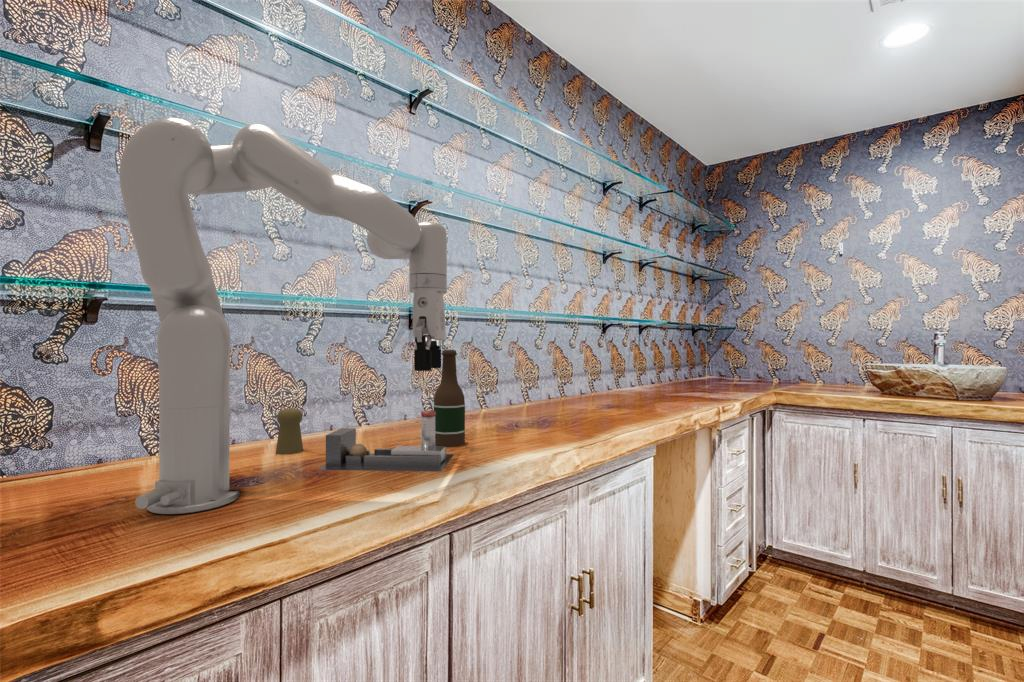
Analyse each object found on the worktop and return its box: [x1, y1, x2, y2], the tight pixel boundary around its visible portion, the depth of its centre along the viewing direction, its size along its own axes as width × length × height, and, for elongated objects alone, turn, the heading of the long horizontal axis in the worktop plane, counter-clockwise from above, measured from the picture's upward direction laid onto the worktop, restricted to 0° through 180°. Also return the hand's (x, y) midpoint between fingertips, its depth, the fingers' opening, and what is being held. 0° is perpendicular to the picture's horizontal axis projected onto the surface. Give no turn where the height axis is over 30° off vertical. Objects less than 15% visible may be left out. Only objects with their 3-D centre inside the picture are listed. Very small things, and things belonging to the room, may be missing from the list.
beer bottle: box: [433, 349, 466, 448], centre depth 117 cm, size 8×8×24 cm
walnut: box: [349, 443, 368, 460], centre depth 100 cm, size 4×4×4 cm
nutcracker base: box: [316, 427, 454, 473], centre depth 99 cm, size 14×24×8 cm, turn 87°
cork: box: [274, 407, 304, 456], centre depth 109 cm, size 6×6×11 cm
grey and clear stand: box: [391, 410, 446, 463], centre depth 99 cm, size 4×10×10 cm, turn 87°
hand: (428, 369), depth 99 cm, fingers open, 9 cm apart
